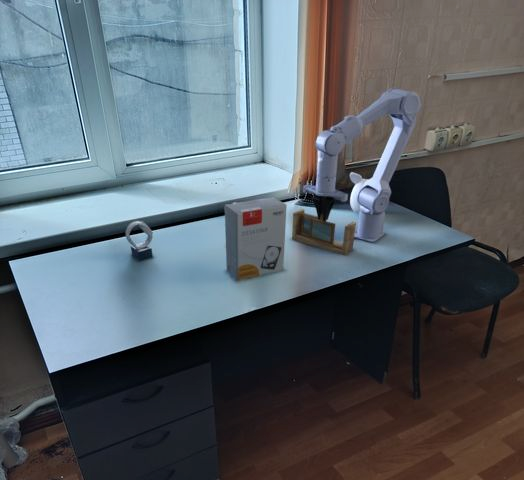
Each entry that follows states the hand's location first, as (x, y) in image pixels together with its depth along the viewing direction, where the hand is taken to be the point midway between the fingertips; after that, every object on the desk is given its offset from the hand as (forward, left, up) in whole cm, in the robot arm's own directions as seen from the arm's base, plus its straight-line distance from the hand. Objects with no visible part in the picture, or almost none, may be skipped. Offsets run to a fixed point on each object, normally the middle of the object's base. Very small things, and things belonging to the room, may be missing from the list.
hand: (322, 219), depth 151 cm
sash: (0, 0, -7) cm, 7 cm away
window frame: (-1, 0, -9) cm, 9 cm away
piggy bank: (-34, -2, -9) cm, 35 cm away
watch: (+40, -40, -9) cm, 57 cm away
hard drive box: (+27, -6, -9) cm, 29 cm away
